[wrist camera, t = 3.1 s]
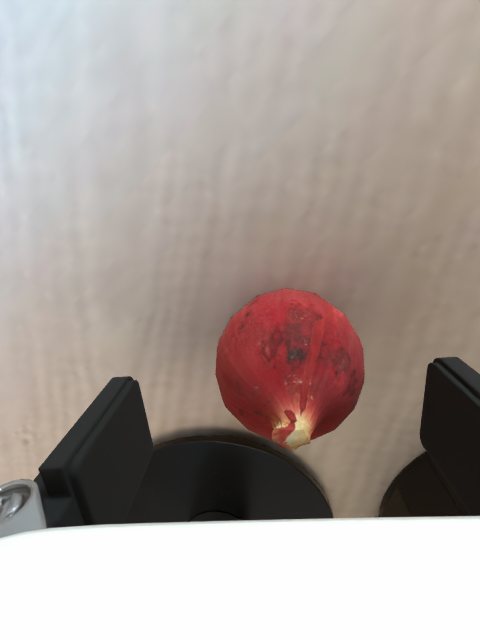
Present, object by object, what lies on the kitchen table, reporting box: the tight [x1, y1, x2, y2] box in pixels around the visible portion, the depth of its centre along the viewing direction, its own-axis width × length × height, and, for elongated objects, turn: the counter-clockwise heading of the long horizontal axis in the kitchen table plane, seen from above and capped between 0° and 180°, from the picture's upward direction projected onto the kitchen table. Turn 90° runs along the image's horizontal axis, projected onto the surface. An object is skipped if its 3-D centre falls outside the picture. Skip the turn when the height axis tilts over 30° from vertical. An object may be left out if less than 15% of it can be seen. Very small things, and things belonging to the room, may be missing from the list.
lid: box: [124, 436, 333, 524], centre depth 18 cm, size 15×15×7 cm
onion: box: [216, 288, 364, 451], centre depth 13 cm, size 6×6×8 cm
